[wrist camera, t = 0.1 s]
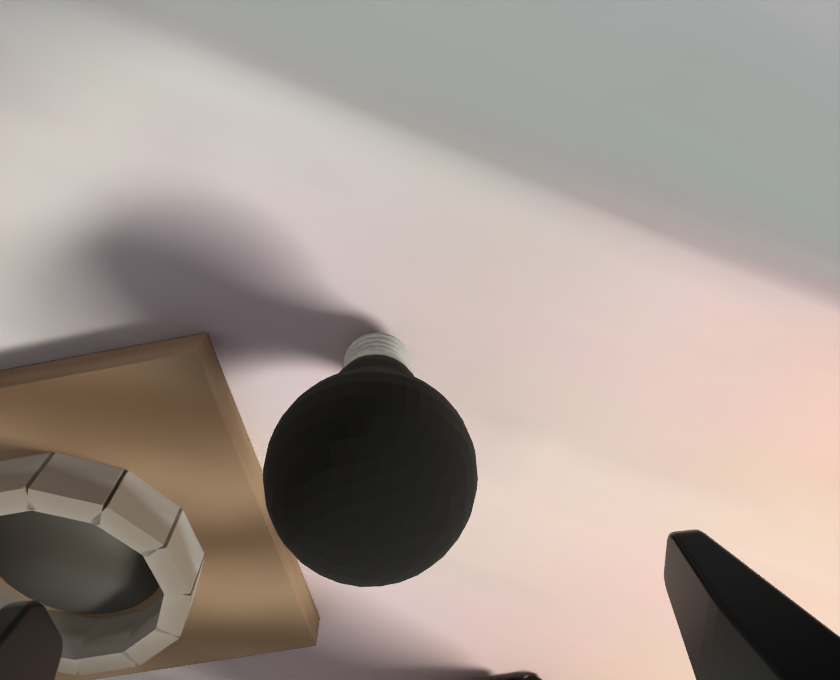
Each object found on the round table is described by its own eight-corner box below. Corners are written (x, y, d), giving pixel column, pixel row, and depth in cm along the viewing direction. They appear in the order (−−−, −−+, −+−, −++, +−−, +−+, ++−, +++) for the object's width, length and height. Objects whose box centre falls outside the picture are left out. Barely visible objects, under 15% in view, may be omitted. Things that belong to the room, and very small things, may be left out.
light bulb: (267, 346, 23) (188, 553, 15) (380, 245, 22) (369, 409, 13) (376, 438, 26) (365, 666, 17) (487, 353, 24) (540, 557, 15)
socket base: (319, 617, 31) (310, 686, 27) (10, 665, 31) (-32, 737, 28) (207, 332, 23) (177, 382, 20) (-195, 406, 24) (-283, 465, 21)
